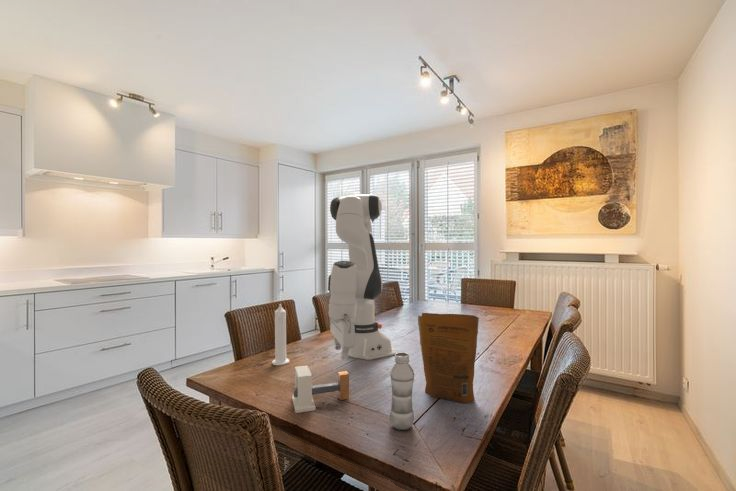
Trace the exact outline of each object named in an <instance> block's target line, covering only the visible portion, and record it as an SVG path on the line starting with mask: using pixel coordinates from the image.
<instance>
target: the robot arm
mask: <svg viewBox="0 0 736 491" xmlns="http://www.w3.org/2000/svg"><path fill="white" fill-rule="evenodd" d="M382 208H383V206H382V202H381V199H380V197H379V196H378V195H376V194H372V193H371V194H353V195H352V194H351V195H346V196H345V195H344V196H337V197H334V198H333V199H332V200H331V201H330V205H329V211H330V215H331V217H332V219H333V220H334V221H335V233H336V235H337V237H338V238H339V239H340V240H341V241H342V242H343V243H345V244H347V246H348V260H338V261H336V262H334V263H333V264H332V268H331V272H330V275H329V276H328V279H327V280H328V281H327V291H328V292H329V294H330V299H329V301H328V302H329V304H328V307H327V312H328V317H329V329H330V332H331V334H332V336H333V340H334V349H335V350H336V351H340V350H341V353H340V357H341V360H348V358H349V357H350V358H353V359H354V358H356V359H363V360H366V361H370V360H375V359H380V358H385V357H390V356H391V357H392V356H395V354H396V353H397V350H396V348H395V347H393V346H392V341H391V339H390V338H389V337H388V336H387V335H386V334H385V333H383V332H382V331H380V330H379V329H382V328H383V324H381V323H380V322H376V321H375V320H376V319H375V318H376V317H375V301H374V300H375V299H376V298H378V297H379V296H380V295H381V294H382V291H383V286H384V284H383V279H382V276H381V272H380V268H379V267H380V266H379V261H378V257H377V256H378V255H377V250H376V245H375V239H374V236H373V228H372V223H374V221H375V220H377V219H378V218H379V217H380V216H381V213H382V210H383V209H382Z"/></svg>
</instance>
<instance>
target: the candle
mask: <svg viewBox="0 0 736 491" xmlns="http://www.w3.org/2000/svg"><path fill="white" fill-rule="evenodd" d="M274 353H275V354H274V355H275V356H274V357H275V358H274V359H273V360H272V361H271V363H272V365H273V366H284V365H285V366H286V365H288V364H289V363H290V359H289V358H288V357H287V312H286V310H285V309H284V308H283V307H282V303H279V305H278V308H277V309H276V310H275V311H274Z"/></svg>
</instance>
